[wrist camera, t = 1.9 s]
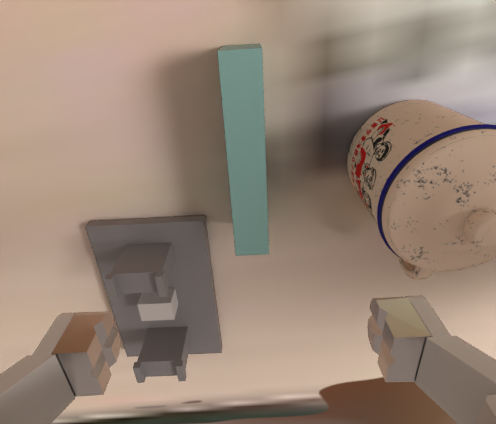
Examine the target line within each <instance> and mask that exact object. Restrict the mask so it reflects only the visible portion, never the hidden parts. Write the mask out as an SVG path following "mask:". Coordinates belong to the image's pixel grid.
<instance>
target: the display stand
mask: <svg viewBox="0 0 496 424" xmlns="http://www.w3.org/2000/svg"><path fill="white" fill-rule="evenodd" d="M86 230H87V233H88V237H89V240H90V243H91V246H92V249H93V252H94V255H95V258H96V261H97V264H98V267H99V270H100V274H101V277H102V280H103V283H104V286H105V289H106V292H107V295H108V298H109V301H110V304H111V307H112V310H113V314H114V317H115V320H116V323H117V326H118V329H119V332H120V335H121V338H122V341H123V344H124V347H125V351H126V354H127V357H129V356H139V358H138V361H137V362H135V363H134V366H133V370H134V373H135V376H136V379H137V382H138V383H142V382H144V381H145V377H148V376H174V375H178V380H179V381H185V380H186V371H185V368H186V363H187V357H188V354H204V353H222V340H221V333H220V325H219V318H218V310H217V303H216V295H215V288H214V280H213V273H212V265H211V258H210V250H209V243H208V235H207V228H206V220H205V215H198V216H178V217H158V218H138V219H119V220H99V221H90V222H89V223H88V224H87V225H86Z"/></svg>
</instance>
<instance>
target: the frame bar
mask: <svg viewBox="0 0 496 424" xmlns="http://www.w3.org/2000/svg"><path fill="white" fill-rule="evenodd" d="M218 62H219V73H220V85H221V96H222V107H223V118H224V129H225V141H226V152H227V163H228V174H229V185H230V197H231V208H232V219H233V230H234V241H235V253H236V256H239V255H260V254H269V237H268V207H267V178H266V148H265V119H264V89H263V60H262V47H261V45H260V44H247V45H231V46H222V47H221V48H220V49H219V50H218Z"/></svg>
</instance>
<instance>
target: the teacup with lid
mask: <svg viewBox="0 0 496 424" xmlns="http://www.w3.org/2000/svg"><path fill="white" fill-rule="evenodd" d="M347 169H348V174H349V178H350V181H351V183H352V185H353V187H354V188H355V190H356V191H357V193H358V194H359V196H360V197H361V199H362V201H363V202H364V204H365V205H366V207H367V208H368V210H369V211H370V213H371V214H372V216H373V218H374V219H375V221H376V222H377V224H378V227H379V231H380V234H381V236H382V238H383V240H384V242H385V243H386V245H387V246H388V248H389V249H390V250H391V251H392V252H393V253H394V254H396V255H397V256H398V258H399V261H400V264H401V266H402V268H403V270H404V271H405V273H406V274H407V275H408V276H409V277H410V278H412V279H425V278H428V277H429V276H431V275H432V273H433V272H434V270H437V271H450V270H459V269H464V268H469V267H472V266H476V265H478V264H481V263H484V262H486V261H488V260H490V259H492V258H494V257H496V125H488V124H483V123H481V122H478V121H476V120H474V119H471V118H469V117H467V116H464V115H462V114H459V113H457V112H455V111H452V110H450V109H448V108H445V107H443V106H440V105H438V104H436V103H433V102H429V101H424V100H406V101H401V102H398V103H394V104H392V105H389V106H387V107H385V108H383V109H382V110H380V111H378V112H377V113H375V114H374V115H373V116H372V117H370V118H369V119H368V120H367V121H366V122H365V123H364V124H363V125H362V127H361V128H360V129H359V131H358V132H357V134H356V135H355V137H354V139H353V141H352V143H351V146H350V149H349V153H348V159H347Z"/></svg>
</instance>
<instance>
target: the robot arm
mask: <svg viewBox="0 0 496 424" xmlns="http://www.w3.org/2000/svg"><path fill="white" fill-rule="evenodd" d="M370 310H371V312H372V314H373V315H372V316H371V317H370V318H369V319H368V337H369V341H370V344H371V347H372V349H373V351H375V352H376V353H377V354H378V355H379V357H378V365H379V367H380V370H381V372H382V375H383V377H384V379H385V382H415V384H416V385H418V386H419V387H420V388H421V389H422V390H423V391H424V392H425V393H426V394H427V395H428V396H429V397H430V398H431V399H433V400H434V401H435V402H436V403H437V404H438V405H439V406H440V407H441V408H442V409H443V410H444V411H445V412H446V413H448V414H449V415H450V416H451V417H452V418H453V419H454V420H455V421H456V422H457V423H458V424H496V360H495V359H493V358H492V357H490V356H488V355H487V354H485V353H484V352H482V351H480V350H479V349H477V348H475V347H474V346H472V345H470V344H469V343H467V342H466V341H464V340H462V339H461V338H459V337H457V336H451V335H450V333H449V332H448V330H447V329H446V327H445V326H444V324H443V323H442V322H441V320H440V319H439V317H438V316H437V314H436V313H435V311H434V310H433V308H432V307H431V305H430V304H429V302H428V301H427V299H426V298H425V297H424V296H406V297H391V298H374V299H372V301H371V305H370ZM114 321H115V320H114V317H113V315H112V313H111V312H78V313H62V314H60V315H59V316H57V318H56V319H55V321H54V322H53V324H52V326H51V327H50V329H49V330H48V332H47V333H46V335H45V336H44V338H43V339H42V341H41V342H40V344H39V345H38V347H37V349H36V350H35V352H34V353H33V355H32V356H26V357H25V358H23V359H22V360H20V361H19V362H17V363H16V364H15V365H13V366H12V367H10V368H9V369H7V370H6V371H4V372H3V373H2V374H0V424H51V423H52V422H53V421H54V420H55V419H56V418H57V417H58V416H59V415H60V414H61V413H62V411H63V410H64V409H65V408H66V407H67V406H68V405H69V404H70V403H71V402H72V401H73V400H74V399H75V397H76V396H90V395H104V392H105V390H106V387H107V384H108V382H109V379H110V377H111V372H110V369H109V368H110V367H111V366H112V365H113V364H114V363H115V362H116V361H117V358H118V355H119V351H120V336H119V332H118V330H116V329H115V328H114V327H112V326H113V323H114Z"/></svg>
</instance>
